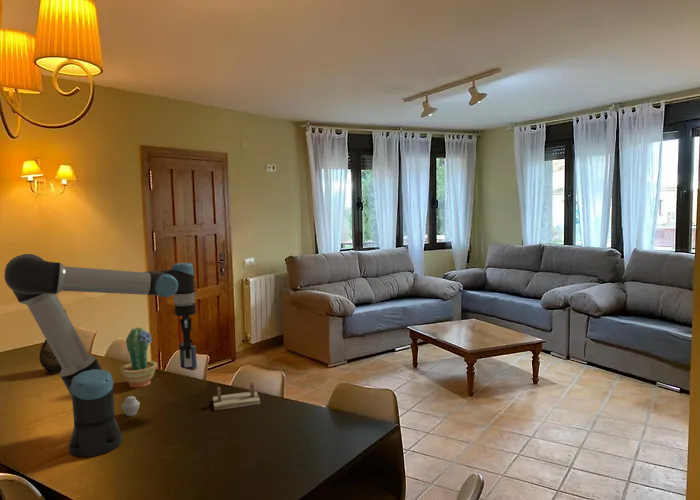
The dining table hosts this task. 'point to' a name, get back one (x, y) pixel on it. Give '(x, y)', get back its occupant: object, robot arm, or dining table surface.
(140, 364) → the potted cactus
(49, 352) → the ceramic jug
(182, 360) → the flask
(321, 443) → the dining table surface
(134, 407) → the white rounded jar
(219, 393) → the slice holder
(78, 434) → the robot arm
